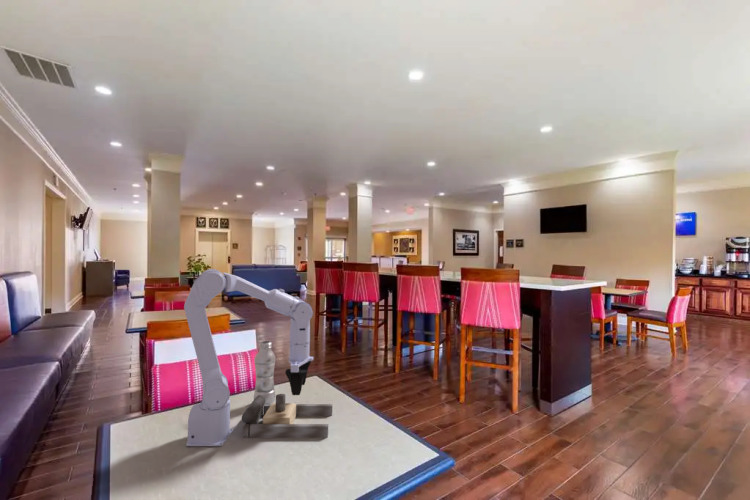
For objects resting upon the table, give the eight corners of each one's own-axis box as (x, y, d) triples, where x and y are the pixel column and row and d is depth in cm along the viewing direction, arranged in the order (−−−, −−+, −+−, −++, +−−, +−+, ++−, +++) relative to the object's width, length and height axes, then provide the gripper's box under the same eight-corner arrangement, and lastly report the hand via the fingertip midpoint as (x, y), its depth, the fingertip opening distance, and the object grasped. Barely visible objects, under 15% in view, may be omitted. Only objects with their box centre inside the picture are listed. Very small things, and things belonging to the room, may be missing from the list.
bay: (238, 442, 89) (239, 414, 89) (255, 417, 103) (256, 393, 103) (329, 442, 90) (329, 414, 90) (333, 417, 104) (334, 393, 104)
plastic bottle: (271, 409, 109) (273, 344, 109) (250, 408, 109) (251, 344, 109) (277, 400, 115) (279, 340, 115) (257, 400, 115) (258, 339, 116)
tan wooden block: (262, 433, 92) (263, 402, 92) (271, 417, 101) (272, 389, 101) (289, 432, 92) (290, 402, 92) (295, 417, 101) (296, 389, 101)
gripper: (309, 348, 94) (308, 399, 93) (316, 336, 108) (315, 380, 108) (283, 348, 93) (282, 399, 93) (294, 336, 108) (293, 380, 108)
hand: (298, 389), depth 101 cm, fingers open, 7 cm apart
